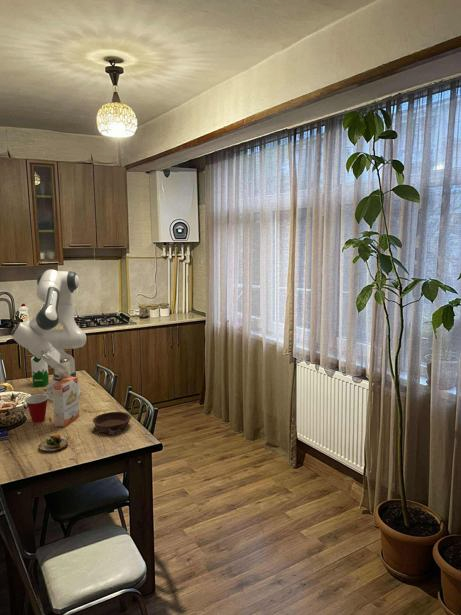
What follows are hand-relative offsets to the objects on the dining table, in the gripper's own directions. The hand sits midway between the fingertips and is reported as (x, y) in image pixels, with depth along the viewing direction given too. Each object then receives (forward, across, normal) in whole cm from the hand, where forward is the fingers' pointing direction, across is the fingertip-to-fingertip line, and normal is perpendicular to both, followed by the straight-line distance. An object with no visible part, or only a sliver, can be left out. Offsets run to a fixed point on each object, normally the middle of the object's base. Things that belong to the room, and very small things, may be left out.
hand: (65, 367), depth 222 cm
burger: (+15, -29, +24) cm, 40 cm away
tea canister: (+3, 0, +4) cm, 5 cm away
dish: (+34, -16, +6) cm, 37 cm away
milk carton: (+8, +68, +31) cm, 75 cm away
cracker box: (+19, 0, +20) cm, 28 cm away
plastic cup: (+9, +6, +30) cm, 32 cm away
